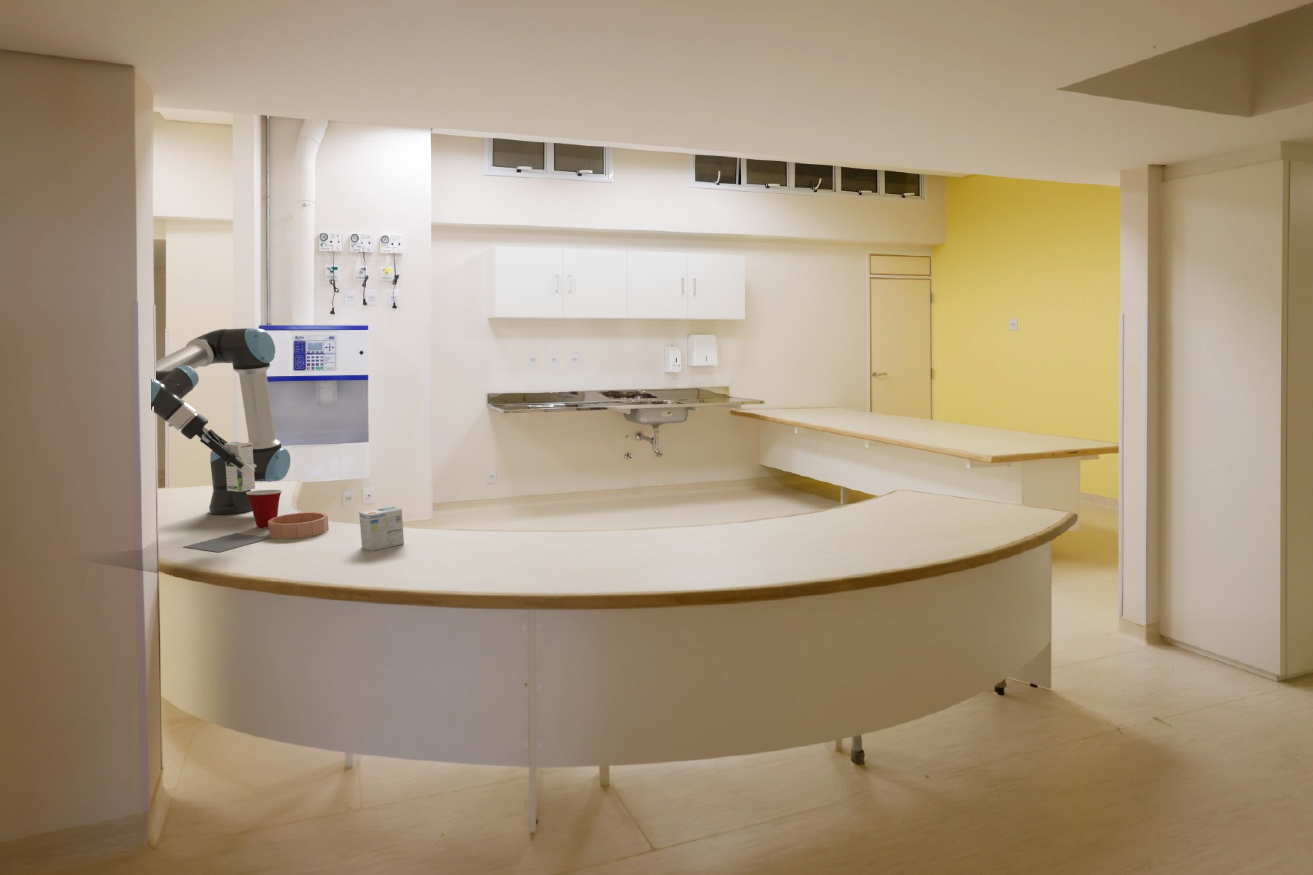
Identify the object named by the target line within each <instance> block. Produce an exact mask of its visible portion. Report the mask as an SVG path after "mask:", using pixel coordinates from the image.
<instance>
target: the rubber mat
mask: <svg viewBox="0 0 1313 875" xmlns="http://www.w3.org/2000/svg"><path fill="white" fill-rule="evenodd" d="M269 539H272V537H271V536H263V535H262V536H261V535H255V534H247V533H239V532H234V533H230V534H226V535H223V536H219V537H216V538H211V539H206V540H203V541H200V542H196V543H192V544H188V545H185V546H183V548H184V549H193V550H197V551H206V552H212V553H213V552H214V553H223V552H227V551H230V550H234V549H237V548H240V546H241V547H244V546H243V545H245V546H248V545H252V544H255V543H259V542H262V540H263V541H266V540H269ZM258 541H259V542H258ZM229 549H230V550H229Z"/></svg>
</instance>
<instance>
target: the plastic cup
mask: <svg viewBox="0 0 1313 875" xmlns="http://www.w3.org/2000/svg"><path fill="white" fill-rule="evenodd" d="M282 492H283V490H282V489H260V490H259V489H257V490H251V491H250V492H246V494H247V495H248V497H249V500H250V503H251V507H252V510H251V511H252V514H253V515H252V516H253V518H254V520H255V524H256V528H258V529H269V528H268V520H270V519H272V518H274V517H278V515H279V514H278V513H279V505H280V504H279V503H280V497H281V494H282Z"/></svg>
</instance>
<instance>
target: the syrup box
mask: <svg viewBox="0 0 1313 875" xmlns="http://www.w3.org/2000/svg"><path fill="white" fill-rule="evenodd" d="M224 446H225V447H226V448H227V449H228V450H229V451H230V452H231V453H232V454H234V455H235V456H236V457H239V458H240V459H241V460H243V461H244V462H245V463H246V464H248V465H249V466H250V467H252V468H253V469H254V464H253V448H252V443H248V442H246V441H245V442H244V441H232V442H228V443H226V444H224ZM225 463H227V462H225ZM226 478H227V491H237V492H243V491H247V490H251V491H252V490H254V489H256V481H255V479H254V472H253V473H252V474H251V475H250V476H249V477H247V476H246V475H245V474H243V473H242V472H241V471H239V470H238V469H237V468H236V467H234V466H233V465H232V464H229V465H227V464H226Z"/></svg>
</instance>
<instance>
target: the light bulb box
mask: <svg viewBox="0 0 1313 875" xmlns="http://www.w3.org/2000/svg"><path fill="white" fill-rule="evenodd" d="M358 515H359V524H360V525H359V526H360V529H359V530H360V540H361V548H363V549H365V550H368V551H370V552H373V551H376V550H383V549H385V548H391V547H395V546H400V545H404V544H405V538H404V522H403V510H402V508H398V507H394V506H387V507H382V508H376V509H372V510H365V511H359V514H358Z"/></svg>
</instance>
